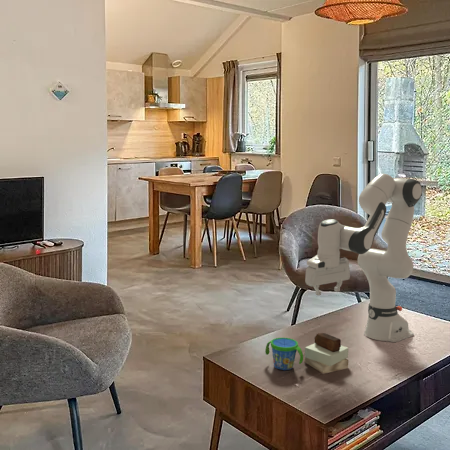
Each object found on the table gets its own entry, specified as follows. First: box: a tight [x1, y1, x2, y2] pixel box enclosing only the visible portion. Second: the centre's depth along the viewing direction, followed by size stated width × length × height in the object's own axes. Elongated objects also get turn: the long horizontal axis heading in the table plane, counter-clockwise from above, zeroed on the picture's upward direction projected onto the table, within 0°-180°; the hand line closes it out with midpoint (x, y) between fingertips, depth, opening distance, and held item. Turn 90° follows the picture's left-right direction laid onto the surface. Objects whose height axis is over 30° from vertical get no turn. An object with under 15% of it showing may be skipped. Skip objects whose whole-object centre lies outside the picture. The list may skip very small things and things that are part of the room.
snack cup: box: [265, 337, 304, 372], centre depth 214 cm, size 16×10×10 cm
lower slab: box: [304, 356, 349, 375], centre depth 217 cm, size 12×12×4 cm
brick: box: [314, 332, 342, 352], centre depth 216 cm, size 11×4×5 cm, turn 35°
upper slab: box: [304, 342, 349, 366], centre depth 216 cm, size 12×12×4 cm
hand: (327, 293), depth 224 cm, fingers open, 8 cm apart
